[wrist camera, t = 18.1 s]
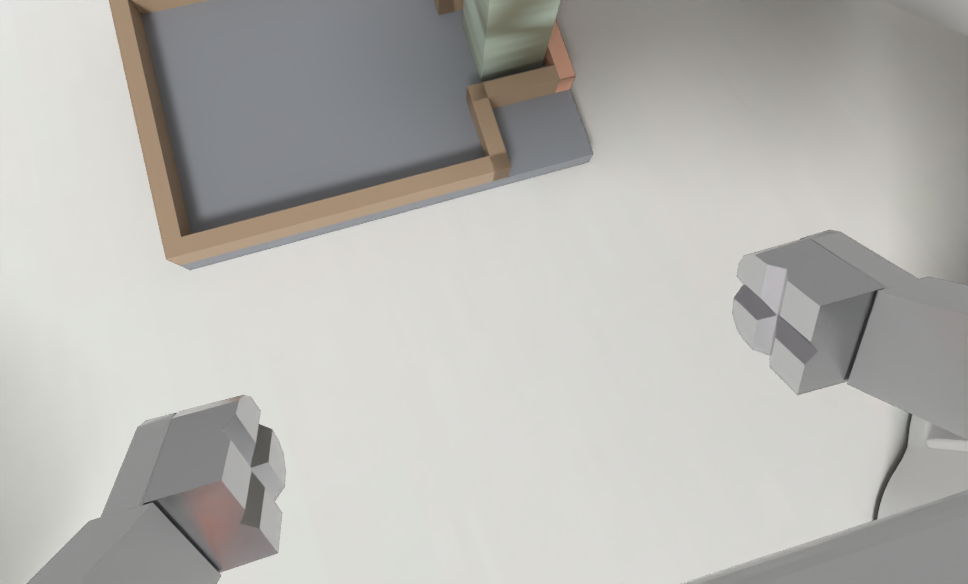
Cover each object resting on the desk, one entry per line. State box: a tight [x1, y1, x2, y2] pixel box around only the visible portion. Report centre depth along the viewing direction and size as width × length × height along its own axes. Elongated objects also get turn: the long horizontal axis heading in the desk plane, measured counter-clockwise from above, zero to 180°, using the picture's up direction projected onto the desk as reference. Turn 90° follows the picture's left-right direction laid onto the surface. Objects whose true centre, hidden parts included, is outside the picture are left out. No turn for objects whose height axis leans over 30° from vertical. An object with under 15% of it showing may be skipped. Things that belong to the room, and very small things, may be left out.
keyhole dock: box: [109, 0, 593, 270], centre depth 33 cm, size 25×17×3 cm
